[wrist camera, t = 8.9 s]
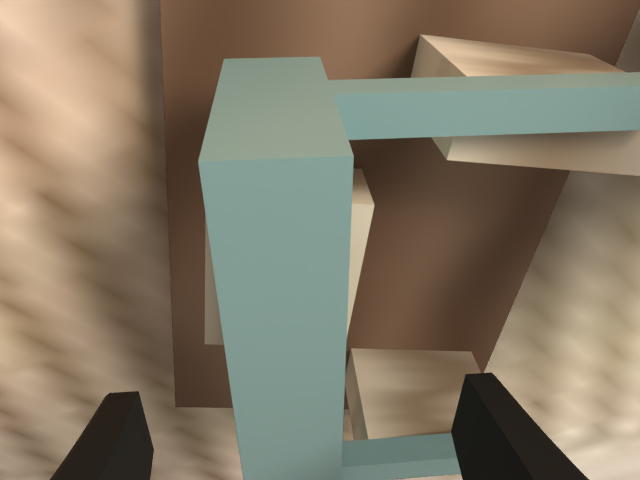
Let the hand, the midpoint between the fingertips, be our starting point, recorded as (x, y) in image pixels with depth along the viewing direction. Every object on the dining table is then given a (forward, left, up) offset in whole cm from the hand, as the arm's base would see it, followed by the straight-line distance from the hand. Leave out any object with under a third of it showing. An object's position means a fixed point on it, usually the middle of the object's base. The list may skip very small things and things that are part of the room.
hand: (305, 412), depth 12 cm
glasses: (-4, 0, -6) cm, 7 cm away
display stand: (-3, +1, -10) cm, 10 cm away
